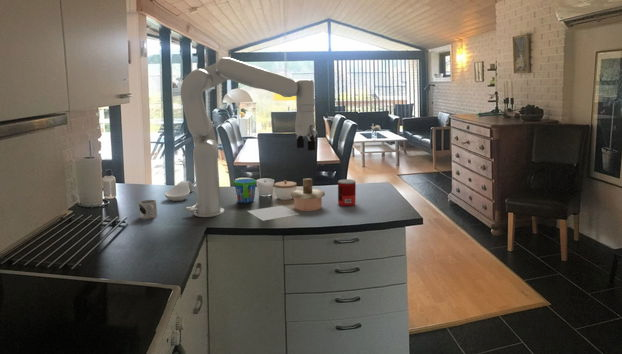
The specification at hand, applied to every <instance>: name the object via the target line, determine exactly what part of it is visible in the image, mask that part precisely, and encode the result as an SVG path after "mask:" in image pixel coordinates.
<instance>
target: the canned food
mask: <svg viewBox="0 0 622 354" xmlns="http://www.w3.org/2000/svg"><path fill="white" fill-rule="evenodd" d="M356 186H357V185H356V180H355V179H351V178H349V179H347V178H345V179H339V180H338V181H337V202H338V206H341V207H353V206H355V205H356V194H357V193H356Z"/></svg>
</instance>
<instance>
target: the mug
mask: <svg viewBox="0 0 622 354" xmlns="http://www.w3.org/2000/svg"><path fill="white" fill-rule="evenodd" d="M138 206H139V217H140V219H141V220H152V219H156V218H158V210H157V201H156V200H155V199H145V200H141V201H139V202H138Z"/></svg>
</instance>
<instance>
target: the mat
mask: <svg viewBox="0 0 622 354" xmlns="http://www.w3.org/2000/svg"><path fill="white" fill-rule="evenodd" d="M247 212H248V213H250V215H253V216H254V217H256V218H257V219H259V220H260V221H262V222H263V221H264V222H265V221H270V220H277V219H282V218H287V217H293V216H299V215H301V214H300V213H298V212H296V211H295V210H292V209H290V208H289V207H286V206H285V205H277V206H270V207H263V208H256V209H251V210H247Z"/></svg>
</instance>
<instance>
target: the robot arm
mask: <svg viewBox="0 0 622 354" xmlns="http://www.w3.org/2000/svg"><path fill="white" fill-rule="evenodd" d="M227 81H232V82H235V83H238V84H241V85H243V86H244V85H245V86H247V87H250V88H253V89H257V90H258V89H259V90H264V91H268V92H271V93H275V94H277V95H280V96H282V97H283V98H292V97H295V98H296V99H295V102H296V114H295V121H294V123H295V124H294V126H295V127H294V130H295V131H294V133H295V136H296V138H295V139H296V148H297V149H303V148H305V141H304V140H305V139H304V137H306V138H307V151H315V150H316V138H317V134H318V131H317V130H316V123H315V121H316V120H315V83H314V80H313V79H311V78H309V79H307V78H306V79H305V78H301V79H292V78H291V77H287V76H285V75H281V74H279V73H276V72H271V71H270V70H267V69H264V68H261V67H259V66H256V65H252V64H249V63H247V62H244V61H240V60H237V59H235V58H231V57H227V56H225V57H220V58H219V60H217V62H215V63H212V64H211V65H208V66H206V67H204V68H197V69H194V70H192V71H190V72H189V73H188V74H187V75H186V76H185V78H183V81H182V83H181V86H180V99H181V103H182V107H183V112H184V116H185V121H186V125H187V129H188V132H189V133H190V134H191V136H192V140H193V144H194V148H193V153H192V154H193V162H194V164H193V165H194V174H195V175H194V176H195V188H196V203H195V204H194V205H193V206H186V207H185V211H186V212H188V213H189V212H191V213H192V212H193V214H194V216H195V217H198V218H199V217H200V218H213V217H216V216H220V215H223V214H224V213H225V209H224V208H222V207H221V197H220V196H221V194H220V193H221V191H220V177H219V176H220V174H219V172H220V171H219V161H218V157H219V156H218V155H219V154H218V153H219V152H218V150H219V145H218V141H217V138H216V133H215V129H214V125H213V123H212V120H211V118H210V116H208V113H207V109H206V106H205V101H204V97H203V96H204V95H203V93H204V92H205V91H208V90H210V89H212V88H214V87H215V86H218V85H220V84H222V83H224V82H227Z"/></svg>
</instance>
